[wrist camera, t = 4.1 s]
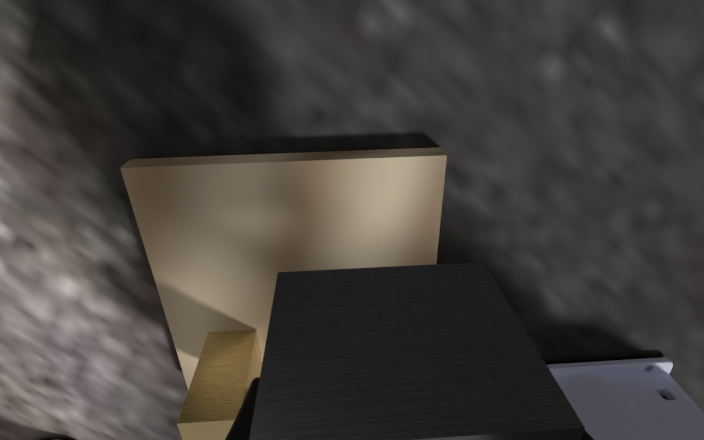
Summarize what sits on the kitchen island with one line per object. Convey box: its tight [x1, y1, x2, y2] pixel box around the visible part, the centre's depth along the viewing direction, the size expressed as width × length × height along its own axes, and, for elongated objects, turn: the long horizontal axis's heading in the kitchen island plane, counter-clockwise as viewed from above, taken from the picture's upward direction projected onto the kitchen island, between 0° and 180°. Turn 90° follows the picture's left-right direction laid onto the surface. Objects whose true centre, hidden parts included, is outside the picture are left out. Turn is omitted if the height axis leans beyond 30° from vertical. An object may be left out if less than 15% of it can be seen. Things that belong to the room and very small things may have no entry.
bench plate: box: [120, 147, 447, 390], centre depth 20 cm, size 13×13×1 cm
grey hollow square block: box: [249, 262, 585, 440], centre depth 10 cm, size 6×6×5 cm
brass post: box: [177, 330, 262, 440], centre depth 20 cm, size 2×2×6 cm
